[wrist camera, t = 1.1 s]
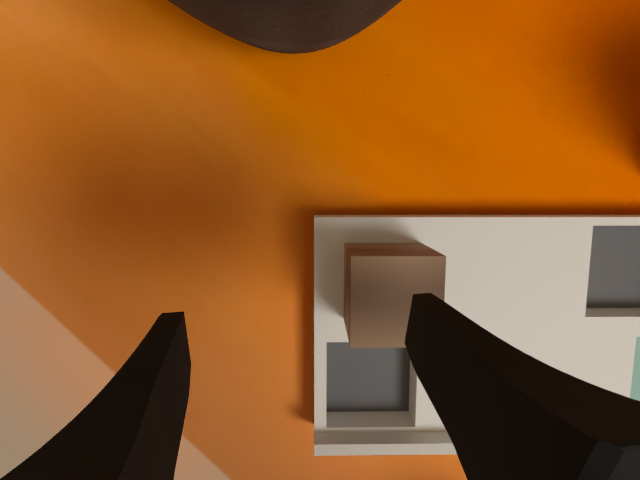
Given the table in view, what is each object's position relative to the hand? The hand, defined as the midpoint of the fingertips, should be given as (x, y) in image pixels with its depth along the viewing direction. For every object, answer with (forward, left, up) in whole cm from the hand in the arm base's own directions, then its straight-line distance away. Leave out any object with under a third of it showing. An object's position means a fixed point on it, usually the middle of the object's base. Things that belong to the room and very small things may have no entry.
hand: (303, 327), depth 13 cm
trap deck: (-4, -13, -13) cm, 19 cm away
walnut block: (-1, -4, -11) cm, 12 cm away
